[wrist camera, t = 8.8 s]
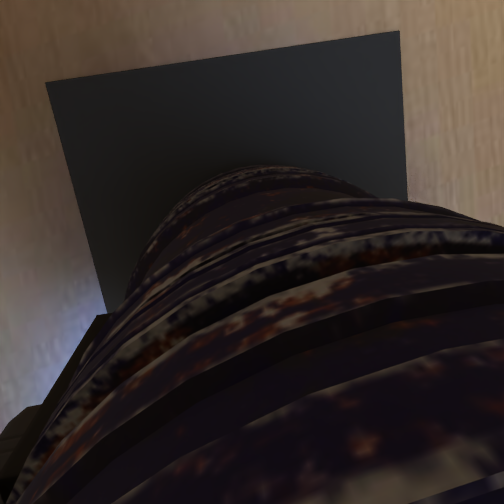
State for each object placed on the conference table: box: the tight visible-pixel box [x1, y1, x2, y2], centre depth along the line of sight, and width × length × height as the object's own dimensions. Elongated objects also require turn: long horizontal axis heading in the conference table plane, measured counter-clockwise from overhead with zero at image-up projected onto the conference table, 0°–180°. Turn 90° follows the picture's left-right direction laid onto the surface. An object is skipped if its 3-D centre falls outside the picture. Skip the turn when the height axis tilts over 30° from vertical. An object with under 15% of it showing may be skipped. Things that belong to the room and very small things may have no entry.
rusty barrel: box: [6, 165, 504, 504], centre depth 10 cm, size 10×10×15 cm
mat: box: [45, 31, 408, 313], centre depth 19 cm, size 18×14×1 cm
